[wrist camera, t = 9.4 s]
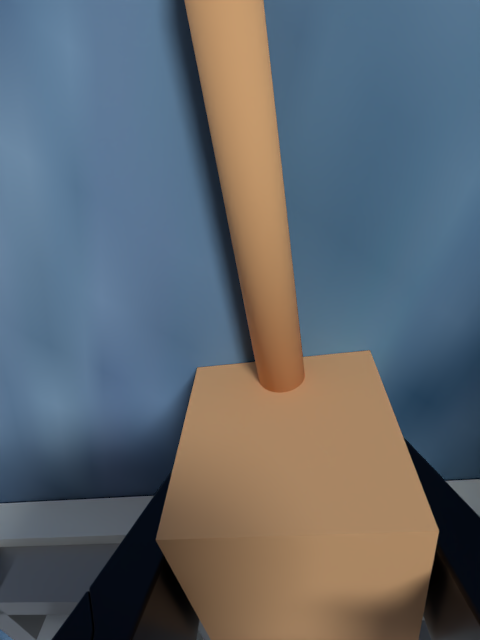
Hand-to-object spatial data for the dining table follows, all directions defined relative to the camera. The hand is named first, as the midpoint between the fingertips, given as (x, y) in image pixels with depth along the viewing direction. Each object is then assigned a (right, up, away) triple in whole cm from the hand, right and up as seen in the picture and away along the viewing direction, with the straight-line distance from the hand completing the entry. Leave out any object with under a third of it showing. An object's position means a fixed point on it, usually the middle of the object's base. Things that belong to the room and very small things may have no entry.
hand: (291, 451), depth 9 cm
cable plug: (-1, +4, -1) cm, 4 cm away
